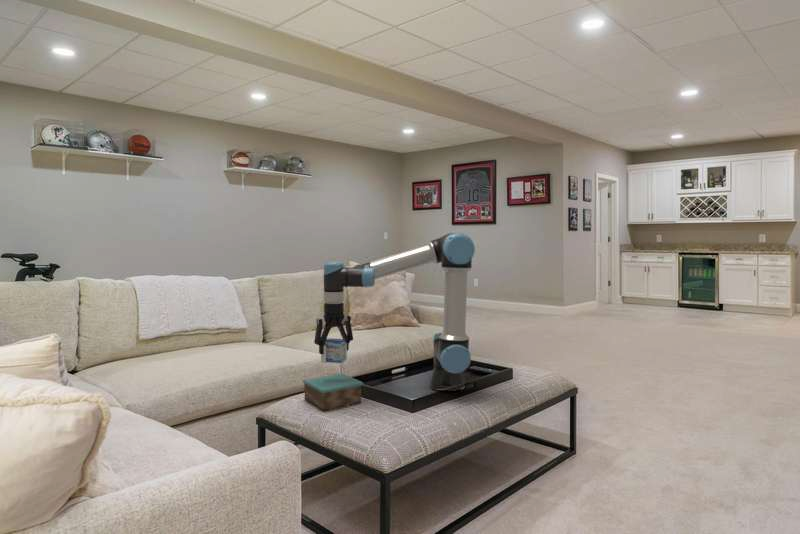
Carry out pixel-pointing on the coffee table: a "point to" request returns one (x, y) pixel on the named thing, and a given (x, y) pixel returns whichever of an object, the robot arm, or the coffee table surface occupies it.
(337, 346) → the medicine box
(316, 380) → the lid
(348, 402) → the crate
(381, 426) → the coffee table surface
